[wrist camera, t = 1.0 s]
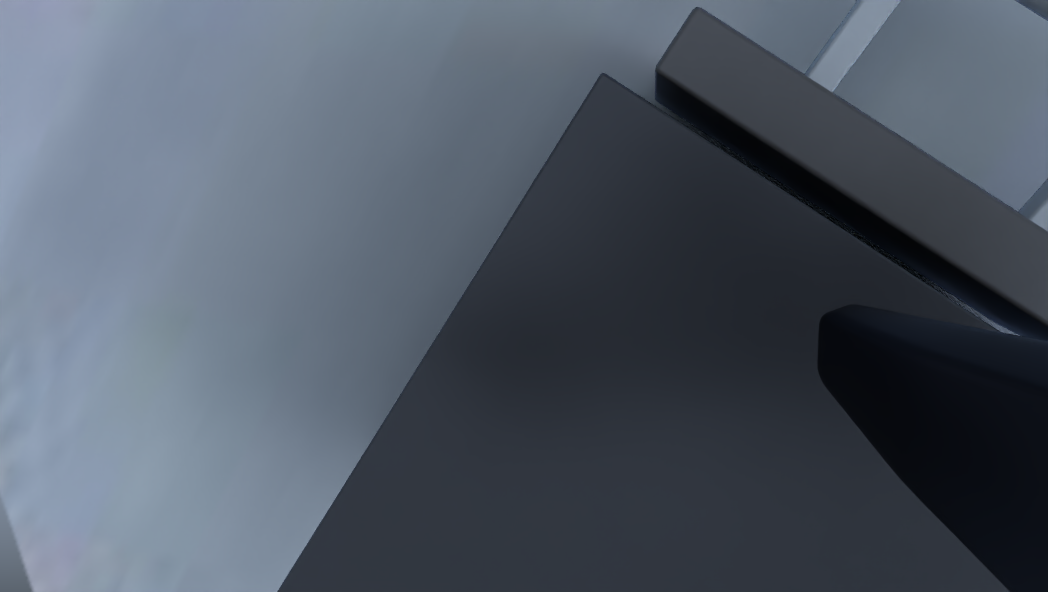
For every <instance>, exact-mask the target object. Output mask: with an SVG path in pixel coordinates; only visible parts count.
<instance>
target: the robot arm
mask: <svg viewBox="0 0 1048 592" xmlns="http://www.w3.org/2000/svg"><path fill="white" fill-rule="evenodd" d="M817 367H818V373H819V376H820V378H821V380H822V382H823V384H824V386H825V387H826V388H827V390H828V391H829V392H830V393H831V395H832V396H833V397H834V398H835V400H836V401H837V402H838V403H839V404H840V406H841V407H842V408H843V409H844V411H845V412H846V413H847V414H848V416H849V417H850V418H851V419H852V421H853V422H854V423H855V424H856V426H857V427H858V428H859V429H860V431H861V432H862V433H863V434H864V436H865V437H866V438H867V439H868V440H869V442H870V443H871V444H872V445H873V447H874V448H875V449H876V450H877V452H878V453H879V454H880V455H881V457H882V458H883V459H884V460H885V462H886V463H887V464H888V465H889V466H890V468H891V469H892V470H893V471H894V472H895V473H896V475H897V476H898V477H899V478H900V479H901V480H902V481H903V483H904V484H905V485H906V486H907V487H908V488H909V489H910V490H911V491H912V492H913V493H914V494H915V495H916V496H917V498H918V499H919V500H920V501H921V502H922V503H923V504H924V505H925V506H926V507H927V508H928V509H929V510H930V511H931V512H932V513H933V514H934V515H935V516H936V517H937V518H938V519H939V520H940V521H941V522H942V523H943V524H944V525H945V526H946V527H947V528H948V529H949V530H950V531H951V532H952V533H953V534H954V535H955V536H956V537H957V538H958V539H959V540H960V541H961V542H962V543H963V544H964V545H965V546H966V547H967V549H968V550H969V551H970V552H971V553H972V554H973V555H974V556H975V557H976V558H977V559H978V560H979V561H980V562H981V563H982V564H983V565H984V566H985V567H986V568H987V569H988V570H989V571H990V572H991V573H992V574H993V575H994V576H995V577H996V578H997V579H998V580H999V581H1000V582H1001V583H1002V584H1003V585H1004V586H1005V587H1006V588H1007V589H1008V590H1009V591H1010V592H1048V341H1042V340H1037V339H1032V338H1027V337H1022V336H1017V335H1012V334H1007V333H1001V332H996V331H991V330H986V329H981V328H976V327H971V326H966V325H960V324H955V323H950V322H945V321H940V320H935V319H930V318H925V317H920V316H914V315H909V314H904V313H899V312H894V311H889V310H884V309H879V308H873V307H868V306H863V305H858V304H851V305H847V306H844V307H841V308H838V309H835V310H833V311H830V312H827V313H825V314H824V315H823V316H822V317H821V319H820V321H819V331H818V360H817Z"/></svg>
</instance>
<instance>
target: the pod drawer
mask: <svg viewBox="0 0 1048 592" xmlns="http://www.w3.org/2000/svg"><path fill="white" fill-rule="evenodd" d="M900 1H901V0H858V1H857V2H856V3H855V5H854V6H853V8H852V9H851V10H850V12H849V13H848V14H847V16H846V17H845V19H844V20H843V21H842V23H841V24H840V26H839V27H838V28H837V30H836V31H835V32H834V34H833V35H832V37H831V38H830V39H829V41H828V42H827V44H826V45H825V46H824V48H823V49H822V50H821V52H820V53H819V55H818V56H817V57H816V59H815V60H814V62H813V63H812V64H811V66H810V67H809V68H808V70H807V71H806V73H805V74H803V73H802V72H800V71H798V70H797V69H795V68H794V67H792V66H791V65H789V64H788V63H786V62H784V61H783V60H781V59H780V58H778V57H777V56H775V55H774V54H772V53H771V52H769V51H767V50H766V49H764V48H763V47H761V46H760V45H758V44H757V43H755V42H753V41H752V40H750V39H749V38H747V37H746V36H744V35H743V34H741V33H739V32H738V31H736V30H735V29H733V28H732V27H730V26H729V25H727V24H726V23H724V22H722V21H721V20H719V19H718V18H716V17H715V16H713V15H712V14H710V13H708V12H707V11H705V10H704V9H702V8H700V7H696V8H695V9H693V10H692V12H691V13H690V15H689V16H688V18H687V19H686V21H685V22H684V24H683V25H682V27H681V29H680V30H679V32H678V33H677V35H676V36H675V38H674V39H673V41H672V42H671V44H670V45H669V47H668V49H667V50H666V52H665V53H664V55H663V56H662V58H661V59H660V61H659V62H658V64H657V66H656V70H655V100H656V101H657V102H659V103H660V104H662V105H663V106H665V107H666V108H668V109H669V110H671V111H672V112H674V113H675V114H677V115H678V116H680V117H681V118H683V119H685V120H686V121H688V122H689V123H691V124H692V125H694V126H695V127H697V128H698V129H700V130H701V131H703V132H704V133H706V134H707V135H709V136H710V137H712V138H714V139H715V140H717V141H718V142H720V143H721V144H723V145H724V146H726V147H727V148H729V149H730V150H732V151H733V152H735V153H736V154H738V155H740V156H741V157H743V158H744V159H746V160H747V161H749V162H750V163H752V164H753V165H755V166H756V167H758V168H759V169H761V170H762V171H764V172H766V173H767V174H769V175H770V176H772V177H773V178H775V179H776V180H778V181H779V182H781V183H782V184H784V185H785V186H787V187H788V188H790V189H792V190H793V191H795V192H796V193H798V194H799V195H801V196H802V197H804V198H805V199H807V200H808V201H810V202H811V203H813V204H814V205H816V206H818V207H819V208H821V209H822V210H824V211H825V212H827V213H828V214H830V215H831V216H833V217H834V218H836V219H837V220H839V221H840V222H842V223H844V224H845V225H847V226H848V227H850V228H851V229H853V230H854V231H856V232H857V233H859V234H860V235H862V236H863V237H865V238H866V239H868V240H869V241H871V242H873V243H874V244H876V245H877V246H879V247H880V248H882V249H883V250H885V251H886V252H888V253H889V254H891V255H892V256H894V257H895V258H897V259H899V260H900V261H902V262H903V263H905V264H906V265H908V266H909V267H911V268H912V269H914V270H915V271H917V272H918V273H920V274H921V275H923V276H925V277H926V278H928V279H929V280H931V281H932V282H934V283H935V284H937V285H938V286H940V287H941V288H943V289H944V290H946V291H947V292H949V293H951V294H952V295H954V296H955V297H957V298H958V299H960V300H961V301H963V302H964V303H966V304H967V305H969V306H970V307H972V308H973V309H975V310H977V311H978V312H980V313H981V314H983V315H984V316H986V317H987V318H989V319H990V320H992V321H993V322H995V323H996V324H998V325H1000V326H1002V327H1004V328H1006V329H1008V330H1010V331H1012V332H1014V333H1016V334H1018V335H1020V336H1022V337H1027V338H1032V339H1037V340H1042V341H1048V179H1047V180H1046V181H1045V182H1044V183H1043V184H1042V186H1041V187H1040V188H1039V189H1038V190H1037V191H1036V192H1035V193H1034V195H1033V196H1032V197H1031V198H1030V199H1029V200H1028V201H1027V203H1026V204H1025V205H1024V206H1023V207H1022V208H1021V209H1020V210H1019V212H1017V211H1016V210H1014V209H1013V208H1011V207H1009V206H1008V205H1006V204H1005V203H1003V202H1002V201H1000V200H999V199H997V198H995V197H994V196H992V195H991V194H989V193H988V192H986V191H985V190H983V189H981V188H980V187H978V186H977V185H975V184H974V183H972V182H971V181H969V180H968V179H966V178H964V177H963V176H961V175H960V174H958V173H957V172H955V171H954V170H952V169H950V168H949V167H947V166H946V165H944V164H943V163H941V162H940V161H938V160H936V159H935V158H933V157H932V156H930V155H929V154H927V153H926V152H924V151H923V150H921V149H919V148H918V147H916V146H915V145H913V144H912V143H910V142H909V141H907V140H905V139H904V138H902V137H901V136H899V135H898V134H896V133H895V132H893V131H892V130H890V129H888V128H887V127H885V126H884V125H882V124H881V123H879V122H878V121H876V120H874V119H873V118H871V117H870V116H868V115H867V114H865V113H864V112H862V111H860V110H859V109H857V108H856V107H854V106H853V105H851V104H850V103H848V102H847V101H845V100H843V99H842V98H840V97H839V96H837V95H836V94H834V93H833V91H834V90H835V89H836V87H837V86H838V85H839V83H840V82H841V80H842V79H843V78H844V76H845V75H846V74H847V72H848V71H849V70H850V68H851V67H852V66H853V64H854V63H855V62H856V60H857V59H858V58H859V56H860V55H861V54H862V52H863V51H864V50H865V48H866V47H867V45H868V44H869V43H870V41H871V40H872V39H873V37H874V36H875V35H876V33H877V32H878V31H879V29H880V28H881V27H882V25H883V24H884V23H885V21H886V20H887V19H888V17H889V16H890V15H891V13H892V12H893V11H894V9H895V8H896V6H897V5H898V4H899V2H900ZM1015 1H1017V2H1018V3H1020V4H1022V5H1023V6H1025V7H1026V8H1028V9H1030V10H1031V11H1033V12H1034V13H1036V14H1038V15H1039V16H1041V17H1042V18H1044V19H1046V20H1047V21H1048V0H1015Z"/></svg>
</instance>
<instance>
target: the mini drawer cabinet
mask: <svg viewBox="0 0 1048 592" xmlns="http://www.w3.org/2000/svg"><path fill="white" fill-rule="evenodd" d="M851 304H858V305H863V306H868V307H873V308H879V309H884V310H889V311H894V312H899V313H904V314H909V315H914V316H920V317H925V318H930V319H935V320H940V321H945V322H950V323H955V324H960V325H966V326H971V327H976V328H981V329H986V330H991V331H996V332H1000V331H998V330H997V329H995V328H993V327H992V326H990V325H989V324H987V323H986V322H984V321H983V320H981V319H980V318H978V317H977V316H975V315H974V314H972V313H971V312H969V311H968V310H966V309H964V308H963V307H961V306H960V305H958V304H957V303H955V302H954V301H952V300H951V299H949V298H948V297H946V296H945V295H943V294H942V293H940V292H938V291H937V290H935V289H934V288H932V287H931V286H929V285H928V284H926V283H925V282H923V281H922V280H920V279H919V278H917V277H916V276H914V275H912V274H911V273H909V272H908V271H906V270H905V269H903V268H902V267H900V266H899V265H897V264H896V263H894V262H893V261H891V260H890V259H888V258H887V257H885V256H883V255H882V254H880V253H879V252H877V251H876V250H874V249H873V248H871V247H870V246H868V245H867V244H865V243H864V242H862V241H861V240H859V239H857V238H856V237H854V236H853V235H851V234H850V233H848V232H847V231H845V230H844V229H842V228H841V227H839V226H838V225H836V224H835V223H833V222H832V221H830V220H828V219H827V218H825V217H824V216H822V215H821V214H819V213H818V212H816V211H815V210H813V209H812V208H810V207H809V206H807V205H806V204H804V203H802V202H801V201H799V200H798V199H796V198H795V197H793V196H792V195H790V194H789V193H787V192H786V191H784V190H783V189H781V188H780V187H778V186H777V185H775V184H773V183H772V182H770V181H769V180H767V179H766V178H764V177H763V176H761V175H760V174H758V173H757V172H755V171H754V170H752V169H751V168H749V167H747V166H746V165H744V164H743V163H741V162H740V161H738V160H737V159H735V158H734V157H732V156H731V155H729V154H728V153H726V152H725V151H723V150H722V149H720V148H718V147H717V146H715V145H714V144H712V143H711V142H709V141H708V140H706V139H705V138H703V137H702V136H700V135H699V134H697V133H696V132H694V131H692V130H691V129H689V128H688V127H686V126H685V125H683V124H682V123H680V122H679V121H677V120H676V119H674V118H673V117H671V116H670V115H668V114H667V113H665V112H663V111H662V110H660V109H659V108H657V107H656V106H654V105H653V104H651V103H650V102H648V101H647V100H645V99H644V98H642V97H641V96H639V95H637V94H636V93H634V92H633V91H631V90H630V89H628V88H627V87H625V86H624V85H622V84H621V83H619V82H618V81H616V80H615V79H613V78H612V77H610V76H608V75H607V74H605V73H602V74H600V76H599V77H598V79H597V81H596V82H595V84H594V85H593V87H592V89H591V90H590V92H589V94H588V95H587V97H586V98H585V100H584V102H583V103H582V105H581V106H580V108H579V110H578V111H577V113H576V114H575V116H574V118H573V119H572V121H571V122H570V124H569V126H568V127H567V129H566V130H565V132H564V134H563V135H562V137H561V138H560V140H559V142H558V143H557V145H556V146H555V148H554V150H553V151H552V153H551V154H550V156H549V158H548V159H547V161H546V162H545V164H544V166H543V167H542V169H541V170H540V172H539V174H538V175H537V177H536V178H535V180H534V182H533V183H532V185H531V186H530V188H529V190H528V191H527V193H526V194H525V196H524V198H523V199H522V201H521V202H520V204H519V206H518V207H517V209H516V210H515V212H514V214H513V215H512V217H511V218H510V220H509V222H508V223H507V225H506V226H505V228H504V230H503V231H502V233H501V234H500V236H499V238H498V239H497V241H496V242H495V244H494V246H493V247H492V249H491V250H490V252H489V254H488V255H487V257H486V258H485V260H484V262H483V263H482V265H481V266H480V268H479V270H478V271H477V273H476V274H475V276H474V278H473V279H472V281H471V282H470V284H469V286H468V287H467V289H466V290H465V292H464V294H463V295H462V297H461V298H460V300H459V302H458V303H457V305H456V306H455V308H454V310H453V311H452V313H451V314H450V316H449V318H448V319H447V321H446V322H445V324H444V326H443V327H442V329H441V330H440V332H439V334H438V335H437V337H436V338H435V340H434V342H433V343H432V345H431V346H430V348H429V350H428V351H427V353H426V354H425V356H424V358H423V359H422V361H421V362H420V364H419V366H418V367H417V369H416V370H415V372H414V374H413V375H412V377H411V378H410V380H409V382H408V383H407V385H406V386H405V388H404V390H403V391H402V393H401V394H400V396H399V398H398V399H397V401H396V402H395V404H394V406H393V407H392V409H391V410H390V412H389V414H388V415H387V417H386V418H385V420H384V422H383V423H382V425H381V426H380V428H379V430H378V431H377V433H376V435H375V436H374V438H373V439H372V441H371V443H370V444H369V446H368V447H367V449H366V451H365V452H364V454H363V455H362V457H361V459H360V460H359V462H358V463H357V465H356V467H355V468H354V470H353V471H352V473H351V475H350V476H349V478H348V479H347V481H346V483H345V484H344V486H343V487H342V489H341V491H340V492H339V494H338V495H337V497H336V499H335V500H334V502H333V503H332V505H331V507H330V508H329V510H328V511H327V513H326V515H325V516H324V518H323V519H322V521H321V523H320V524H319V526H318V527H317V529H316V531H315V532H314V534H313V535H312V537H311V539H310V540H309V542H308V543H307V545H306V547H305V548H304V550H303V551H302V553H301V555H300V556H299V558H298V559H297V561H296V563H295V564H294V566H293V567H292V569H291V571H290V572H289V574H288V575H287V577H286V579H285V580H284V582H283V583H282V585H281V587H280V588H279V590H278V591H277V592H1010V591H1009V590H1008V589H1007V588H1006V587H1005V586H1004V585H1003V584H1002V583H1001V582H1000V581H999V580H998V579H997V578H996V577H995V576H994V575H993V574H992V573H991V572H990V571H989V570H988V569H987V568H986V567H985V566H984V565H983V564H982V563H981V562H980V561H979V560H978V559H977V558H976V557H975V556H974V555H973V554H972V553H971V552H970V551H969V550H968V549H967V547H966V546H965V545H964V544H963V543H962V542H961V541H960V540H959V539H958V538H957V537H956V536H955V535H954V534H953V533H952V532H951V531H950V530H949V529H948V528H947V527H946V526H945V525H944V524H943V523H942V522H941V521H940V520H939V519H938V518H937V517H936V516H935V515H934V514H933V513H932V512H931V511H930V510H929V509H928V508H927V507H926V506H925V505H924V504H923V503H922V502H921V501H920V500H919V499H918V498H917V496H916V495H915V494H914V493H913V492H912V491H911V490H910V489H909V488H908V487H907V486H906V485H905V484H904V483H903V481H902V480H901V479H900V478H899V477H898V476H897V475H896V473H895V472H894V471H893V470H892V469H891V468H890V466H889V465H888V464H887V463H886V462H885V460H884V459H883V458H882V457H881V455H880V454H879V453H878V452H877V450H876V449H875V448H874V447H873V445H872V444H871V443H870V442H869V440H868V439H867V438H866V437H865V436H864V434H863V433H862V432H861V431H860V429H859V428H858V427H857V426H856V424H855V423H854V422H853V421H852V419H851V418H850V417H849V416H848V414H847V413H846V412H845V411H844V409H843V408H842V407H841V406H840V404H839V403H838V402H837V401H836V400H835V398H834V397H833V396H832V395H831V393H830V392H829V391H828V390H827V388H826V387H825V386H824V384H823V382H822V380H821V378H820V376H819V373H818V367H817V360H818V331H819V321H820V319H821V317H822V316H823V315H824V314H825V313H827V312H830V311H833V310H835V309H838V308H841V307H844V306H847V305H851Z"/></svg>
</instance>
